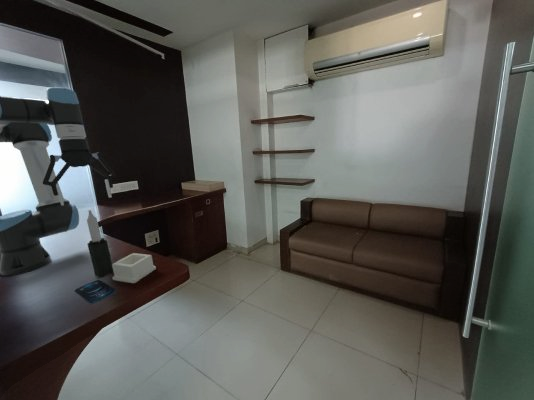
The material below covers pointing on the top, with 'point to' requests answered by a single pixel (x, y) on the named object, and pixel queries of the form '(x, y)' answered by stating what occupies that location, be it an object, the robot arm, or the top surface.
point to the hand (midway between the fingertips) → (87, 200)
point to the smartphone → (95, 291)
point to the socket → (133, 268)
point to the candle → (98, 249)
